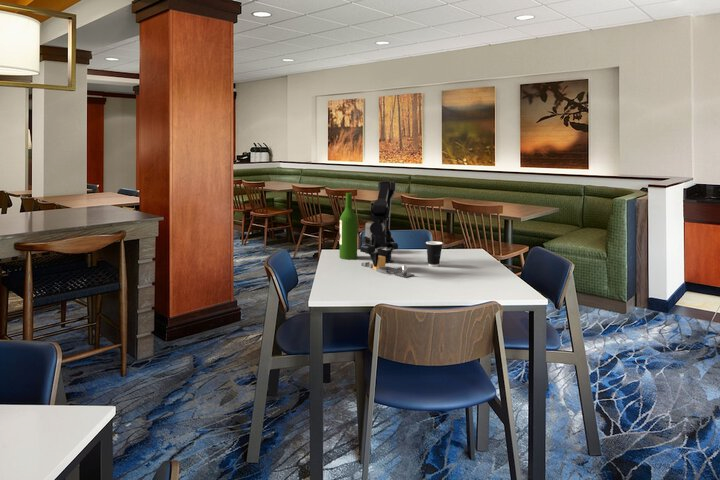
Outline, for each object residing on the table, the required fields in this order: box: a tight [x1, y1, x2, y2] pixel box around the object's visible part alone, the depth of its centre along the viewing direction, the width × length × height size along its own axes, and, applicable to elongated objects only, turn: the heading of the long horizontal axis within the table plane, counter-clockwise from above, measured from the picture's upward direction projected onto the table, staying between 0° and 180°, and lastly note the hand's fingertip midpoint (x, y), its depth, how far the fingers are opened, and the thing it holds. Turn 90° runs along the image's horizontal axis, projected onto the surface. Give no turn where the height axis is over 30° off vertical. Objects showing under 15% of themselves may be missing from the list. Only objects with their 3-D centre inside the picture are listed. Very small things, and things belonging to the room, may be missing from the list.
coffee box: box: [364, 221, 378, 252], centre depth 276 cm, size 9×6×16 cm
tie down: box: [361, 255, 400, 275], centre depth 236 cm, size 20×7×6 cm, turn 41°
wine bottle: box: [338, 192, 359, 260], centre depth 258 cm, size 9×9×32 cm
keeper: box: [394, 264, 415, 279], centre depth 223 cm, size 6×6×5 cm
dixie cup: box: [425, 240, 444, 268], centre depth 244 cm, size 8×8×11 cm
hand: (379, 265), depth 235 cm, fingers open, 5 cm apart
